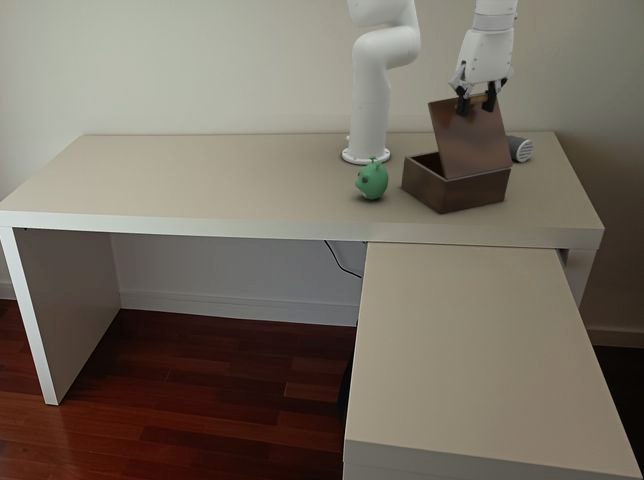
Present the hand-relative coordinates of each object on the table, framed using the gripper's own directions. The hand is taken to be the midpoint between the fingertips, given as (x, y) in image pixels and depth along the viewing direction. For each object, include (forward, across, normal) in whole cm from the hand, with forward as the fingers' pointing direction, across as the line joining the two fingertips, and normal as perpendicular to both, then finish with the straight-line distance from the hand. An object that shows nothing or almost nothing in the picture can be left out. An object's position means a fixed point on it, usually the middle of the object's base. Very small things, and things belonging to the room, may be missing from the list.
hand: (474, 112), depth 140 cm
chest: (+20, 0, -3) cm, 20 cm away
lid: (+5, 0, 0) cm, 5 cm away
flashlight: (+20, -26, -19) cm, 38 cm away
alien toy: (+20, +18, -9) cm, 28 cm away
